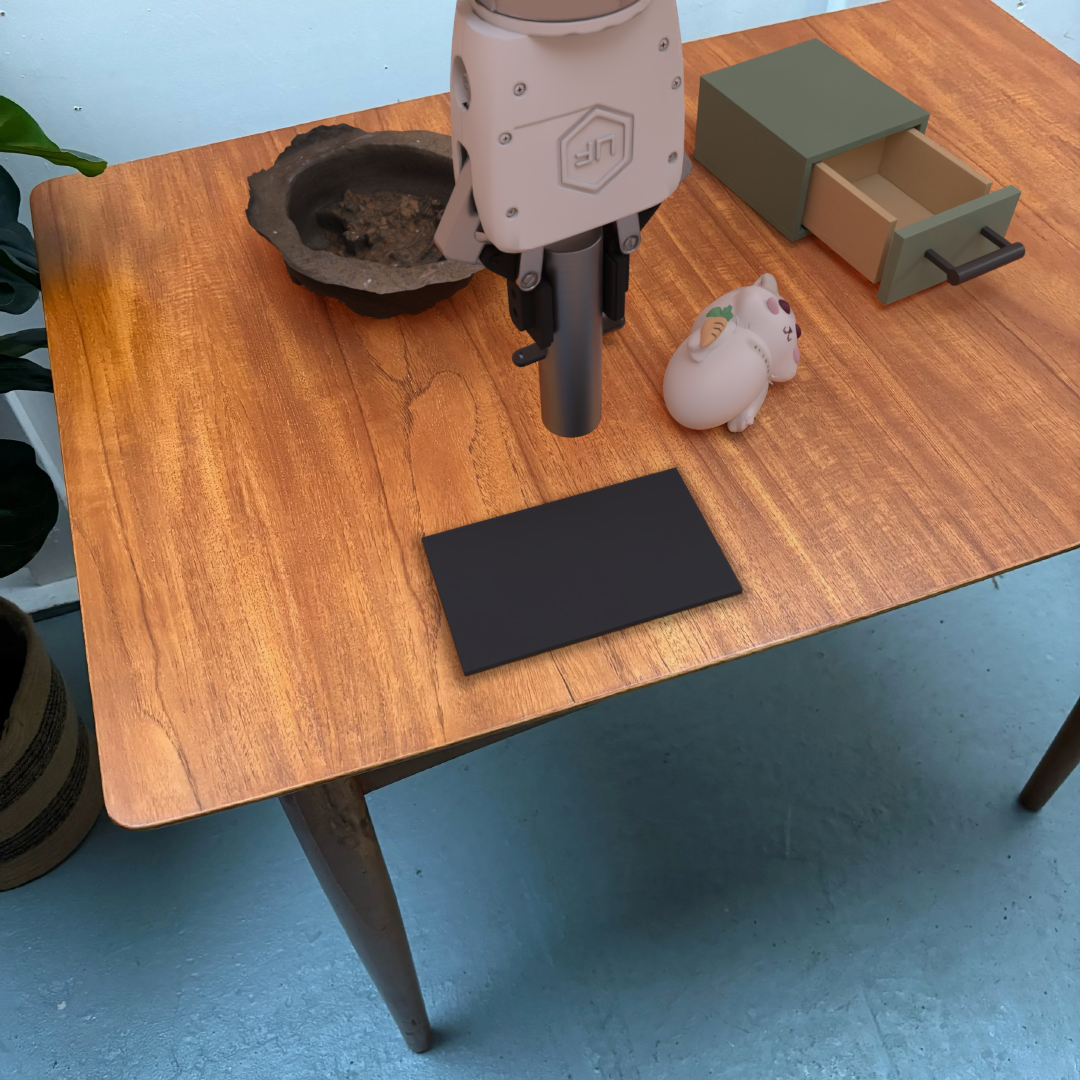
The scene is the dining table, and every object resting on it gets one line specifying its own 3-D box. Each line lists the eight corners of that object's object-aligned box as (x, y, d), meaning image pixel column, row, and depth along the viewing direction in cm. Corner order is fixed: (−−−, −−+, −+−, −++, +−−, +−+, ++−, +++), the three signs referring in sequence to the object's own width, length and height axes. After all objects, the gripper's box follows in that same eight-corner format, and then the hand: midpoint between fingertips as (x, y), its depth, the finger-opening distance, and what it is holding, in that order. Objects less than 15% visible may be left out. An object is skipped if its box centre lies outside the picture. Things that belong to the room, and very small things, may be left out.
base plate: (675, 471, 77) (676, 466, 77) (742, 593, 70) (743, 588, 70) (422, 542, 74) (421, 537, 74) (464, 677, 67) (463, 672, 67)
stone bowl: (212, 266, 95) (186, 175, 88) (422, 175, 106) (414, 87, 99) (367, 394, 83) (351, 299, 76) (586, 276, 94) (590, 184, 87)
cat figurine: (693, 365, 71) (794, 233, 76) (613, 368, 77) (712, 246, 83) (749, 463, 76) (840, 332, 81) (670, 459, 82) (759, 338, 88)
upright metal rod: (607, 377, 62) (609, 190, 52) (637, 413, 60) (646, 227, 50) (505, 418, 60) (487, 234, 50) (533, 457, 58) (520, 273, 48)
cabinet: (907, 197, 97) (930, 113, 90) (791, 242, 94) (806, 158, 87) (802, 119, 106) (816, 37, 100) (693, 157, 103) (699, 75, 96)
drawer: (1032, 285, 87) (1060, 217, 82) (919, 334, 84) (941, 267, 79) (882, 174, 98) (898, 108, 93) (777, 214, 95) (787, 148, 90)
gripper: (404, 50, 36) (459, 418, 50) (790, -62, 40) (738, 307, 54) (330, -29, 40) (400, 331, 54) (687, -124, 44) (664, 234, 59)
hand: (569, 316), depth 54 cm, fingers closed on upright metal rod, 3 cm apart
